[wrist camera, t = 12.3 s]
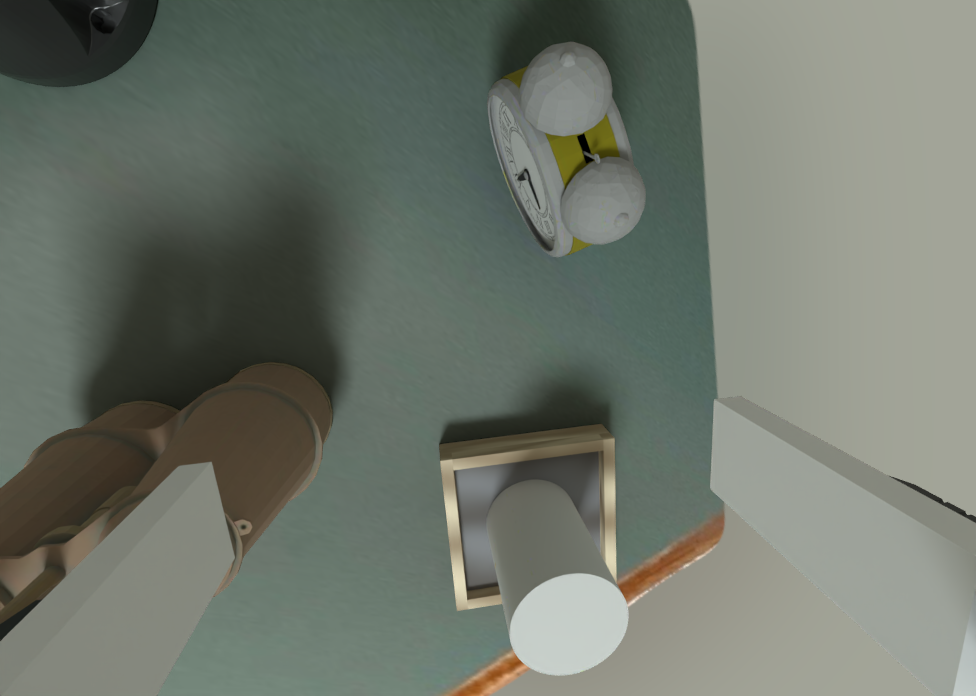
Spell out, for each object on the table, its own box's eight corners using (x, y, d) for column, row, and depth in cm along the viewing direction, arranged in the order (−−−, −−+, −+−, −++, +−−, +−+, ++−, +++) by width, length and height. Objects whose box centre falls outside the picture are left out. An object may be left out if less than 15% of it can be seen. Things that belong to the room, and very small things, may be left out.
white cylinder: (471, 542, 44) (488, 657, 32) (511, 466, 42) (545, 557, 31) (549, 570, 46) (592, 687, 34) (590, 497, 44) (649, 594, 33)
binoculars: (312, 342, 40) (142, 522, 16) (353, 448, 43) (262, 740, 18) (58, 417, 39) (-539, 732, 15) (117, 521, 41) (-306, 932, 17)
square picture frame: (439, 444, 43) (440, 461, 40) (601, 423, 45) (614, 438, 42) (454, 585, 47) (457, 610, 44) (604, 562, 49) (616, 585, 46)
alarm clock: (473, 112, 37) (505, 41, 23) (555, 76, 37) (638, -17, 23) (529, 254, 40) (588, 271, 26) (604, 221, 40) (704, 219, 26)
